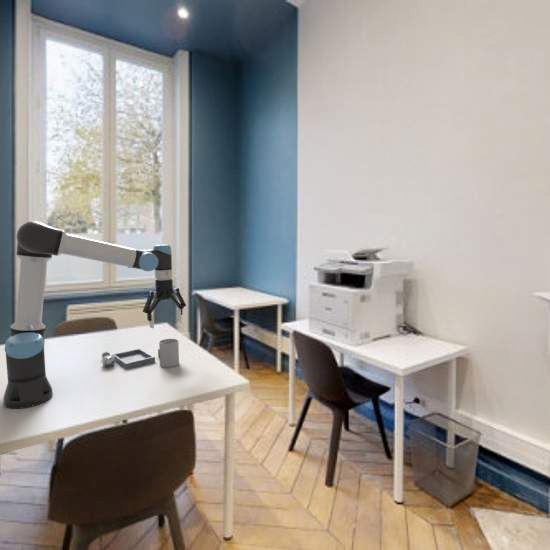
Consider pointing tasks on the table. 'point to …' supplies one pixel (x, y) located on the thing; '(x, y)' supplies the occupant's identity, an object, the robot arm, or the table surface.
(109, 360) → the chrome bearing sphere
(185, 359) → the table surface
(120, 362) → the tray
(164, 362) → the mug
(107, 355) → the rubber ball
